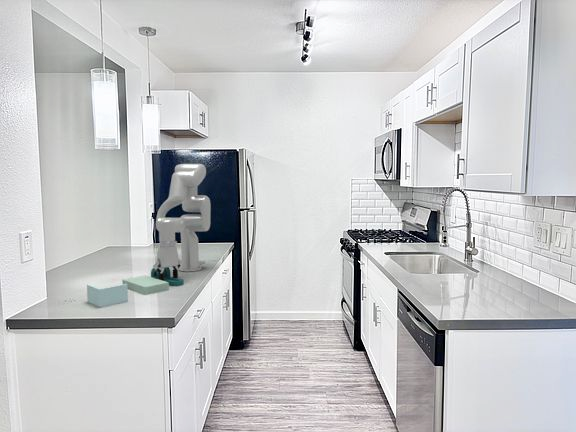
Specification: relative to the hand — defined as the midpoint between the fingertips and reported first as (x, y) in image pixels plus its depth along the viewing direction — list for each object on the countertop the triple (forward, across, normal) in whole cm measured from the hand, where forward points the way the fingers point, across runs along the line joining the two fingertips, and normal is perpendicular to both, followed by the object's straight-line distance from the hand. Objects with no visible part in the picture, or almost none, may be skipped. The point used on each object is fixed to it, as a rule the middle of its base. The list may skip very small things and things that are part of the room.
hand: (168, 279), depth 215 cm
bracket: (+2, 0, 0) cm, 2 cm away
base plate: (+3, +13, 0) cm, 13 cm away
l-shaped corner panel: (+2, +35, +7) cm, 36 cm away
